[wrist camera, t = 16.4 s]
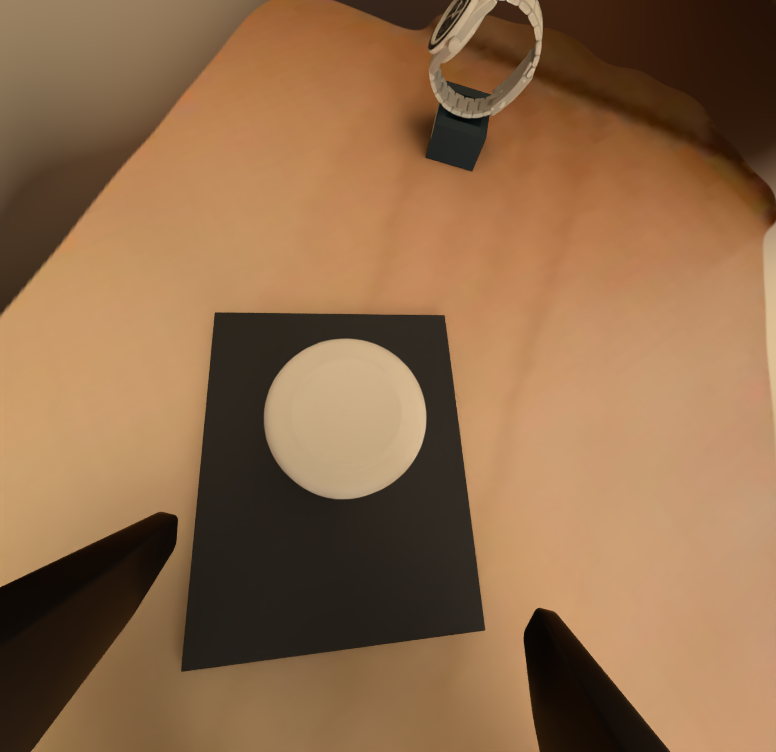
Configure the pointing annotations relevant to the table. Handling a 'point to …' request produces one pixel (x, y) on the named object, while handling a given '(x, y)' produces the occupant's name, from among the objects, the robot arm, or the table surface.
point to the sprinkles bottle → (345, 418)
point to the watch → (465, 105)
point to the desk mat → (324, 511)
